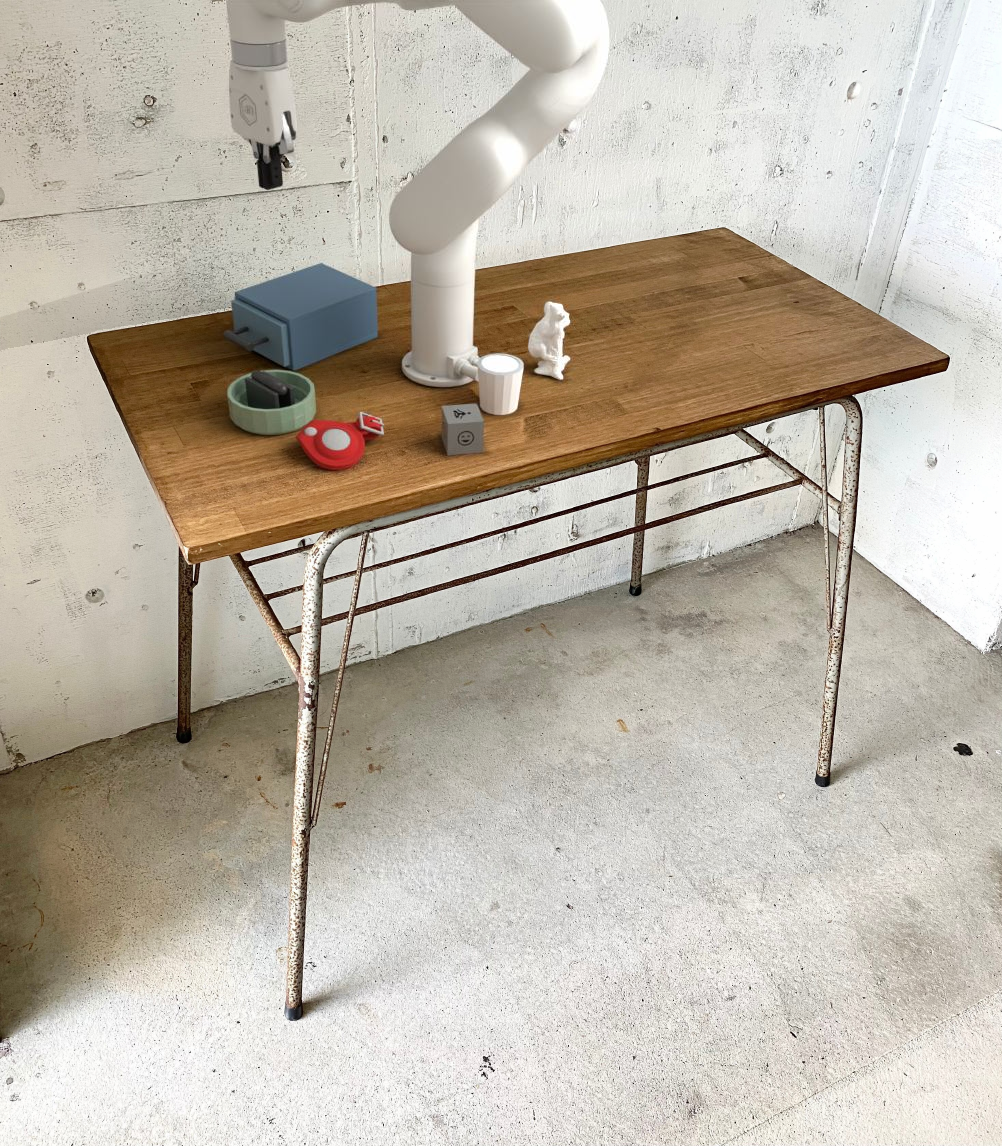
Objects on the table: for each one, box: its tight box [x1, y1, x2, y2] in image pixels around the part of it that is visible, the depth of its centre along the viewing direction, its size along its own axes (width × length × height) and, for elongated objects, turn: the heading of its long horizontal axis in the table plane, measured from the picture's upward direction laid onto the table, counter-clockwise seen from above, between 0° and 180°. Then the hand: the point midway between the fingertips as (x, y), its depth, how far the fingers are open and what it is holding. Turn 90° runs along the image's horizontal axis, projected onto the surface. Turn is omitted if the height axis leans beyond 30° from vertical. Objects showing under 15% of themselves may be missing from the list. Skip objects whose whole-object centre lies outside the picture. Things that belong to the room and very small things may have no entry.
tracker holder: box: [295, 411, 385, 471], centre depth 152 cm, size 12×4×10 cm
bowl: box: [226, 369, 317, 436], centre depth 158 cm, size 12×12×4 cm
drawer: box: [222, 298, 291, 368], centre depth 174 cm, size 21×12×7 cm, turn 138°
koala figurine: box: [527, 301, 571, 381], centre depth 170 cm, size 8×7×12 cm
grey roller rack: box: [245, 369, 295, 409], centre depth 157 cm, size 7×3×6 cm, turn 48°
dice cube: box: [440, 403, 485, 456], centre depth 153 cm, size 5×5×5 cm
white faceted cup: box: [477, 352, 525, 416], centre depth 162 cm, size 7×7×7 cm
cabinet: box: [234, 262, 379, 372], centre depth 176 cm, size 18×14×9 cm
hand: (271, 186), depth 162 cm, fingers closed
